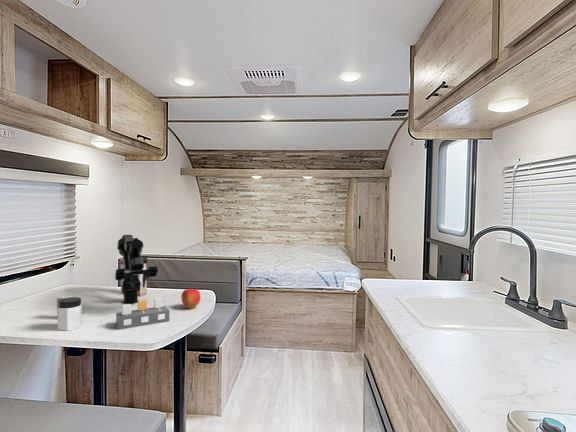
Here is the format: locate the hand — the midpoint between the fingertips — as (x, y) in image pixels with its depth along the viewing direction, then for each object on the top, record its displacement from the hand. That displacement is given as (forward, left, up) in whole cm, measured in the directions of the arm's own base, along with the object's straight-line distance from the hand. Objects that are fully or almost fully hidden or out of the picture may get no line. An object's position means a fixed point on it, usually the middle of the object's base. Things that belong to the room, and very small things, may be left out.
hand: (139, 287), depth 163 cm
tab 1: (+6, -13, -8) cm, 16 cm away
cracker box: (-33, +29, -14) cm, 46 cm away
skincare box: (-28, -16, -14) cm, 35 cm away
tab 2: (+7, -5, -8) cm, 12 cm away
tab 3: (+11, +1, -8) cm, 14 cm away
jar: (-15, -23, -14) cm, 31 cm away
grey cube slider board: (+9, -6, -14) cm, 17 cm away
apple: (+14, +21, -14) cm, 29 cm away
